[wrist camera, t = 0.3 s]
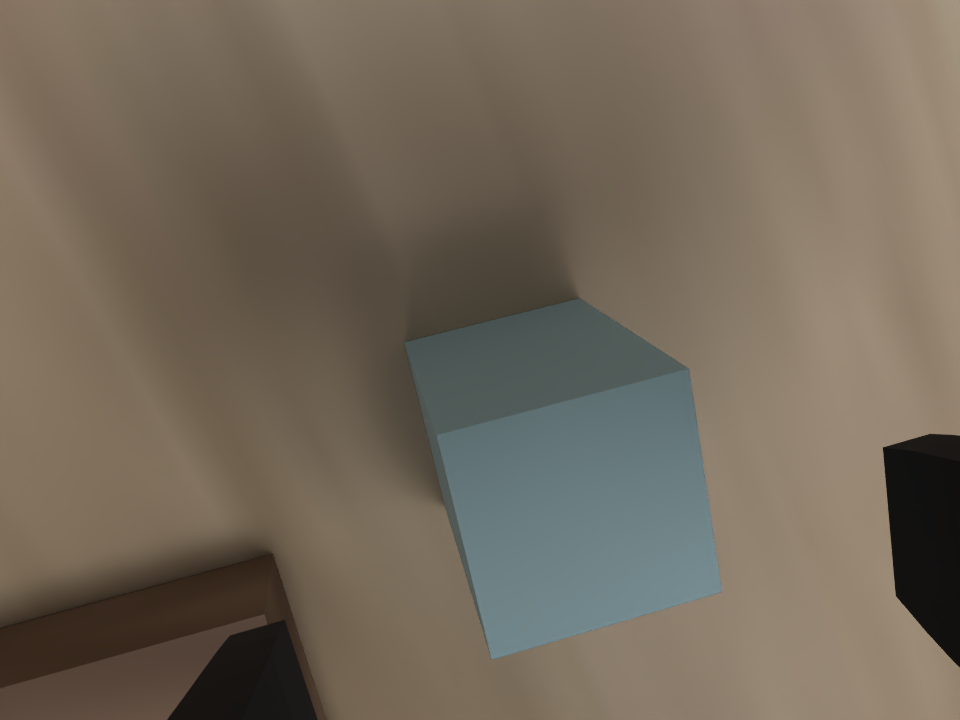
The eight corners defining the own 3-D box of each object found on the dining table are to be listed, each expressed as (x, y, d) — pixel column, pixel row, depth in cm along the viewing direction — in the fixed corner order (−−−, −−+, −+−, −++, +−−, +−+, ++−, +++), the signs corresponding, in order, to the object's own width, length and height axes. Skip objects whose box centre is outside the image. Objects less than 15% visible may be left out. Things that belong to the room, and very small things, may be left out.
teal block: (609, 461, 20) (721, 592, 14) (444, 505, 19) (491, 660, 14) (579, 298, 19) (688, 368, 13) (403, 342, 18) (436, 435, 12)
